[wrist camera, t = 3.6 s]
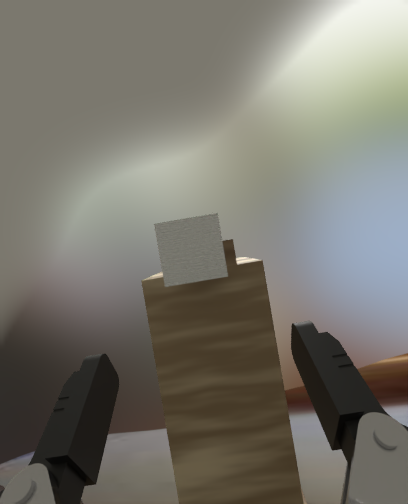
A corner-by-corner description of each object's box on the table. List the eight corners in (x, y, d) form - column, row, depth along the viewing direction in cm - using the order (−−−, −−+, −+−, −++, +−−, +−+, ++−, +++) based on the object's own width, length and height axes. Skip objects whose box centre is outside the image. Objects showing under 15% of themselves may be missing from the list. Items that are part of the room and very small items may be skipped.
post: (340, 604, 23) (277, 231, 23) (179, 625, 23) (116, 258, 23) (285, 454, 40) (249, 239, 40) (192, 468, 40) (156, 255, 40)
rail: (228, 276, 16) (217, 213, 16) (164, 287, 16) (154, 223, 16) (217, 260, 42) (213, 236, 42) (193, 264, 42) (189, 240, 42)
